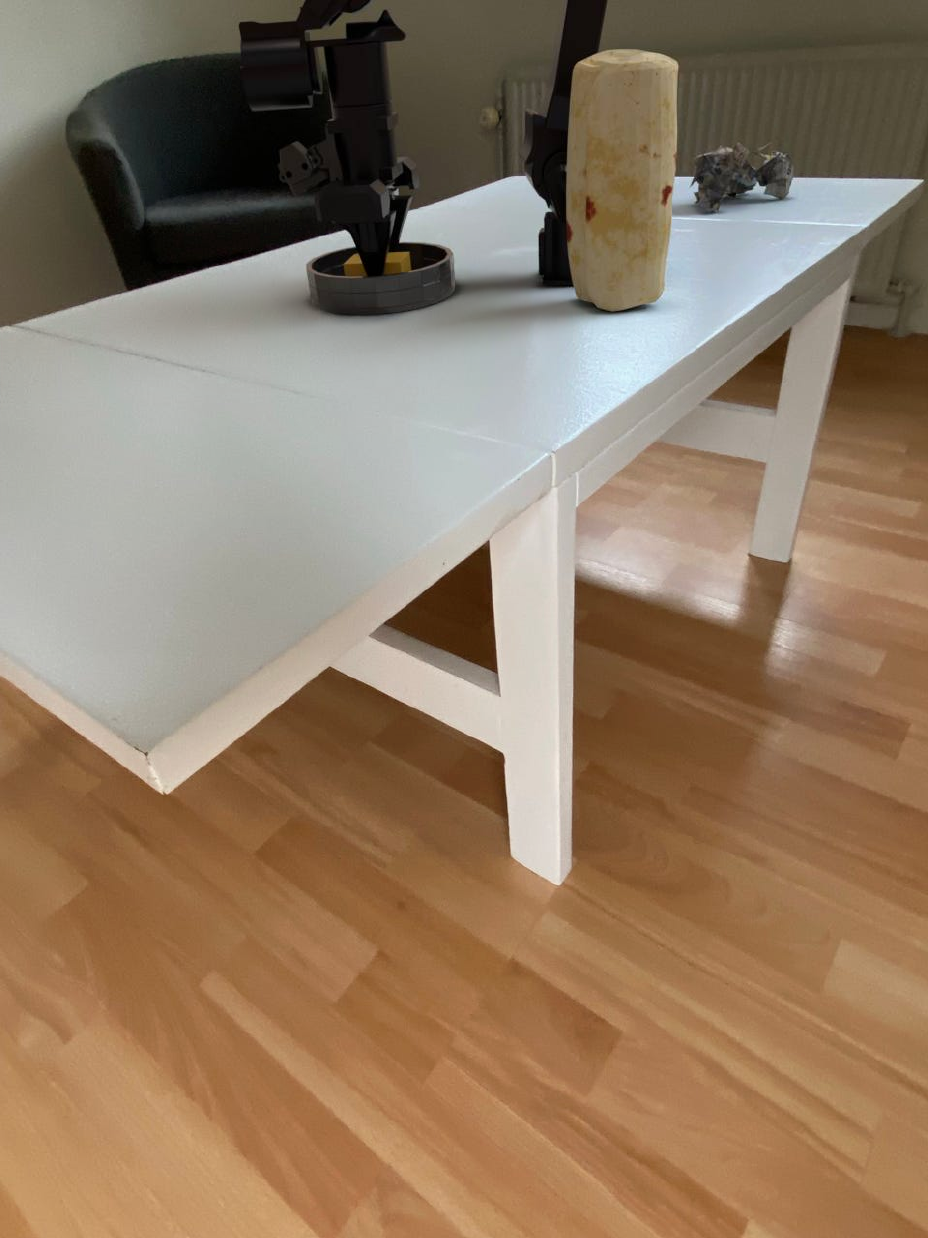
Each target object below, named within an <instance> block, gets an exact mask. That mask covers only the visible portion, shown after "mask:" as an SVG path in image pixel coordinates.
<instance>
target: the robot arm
mask: <svg viewBox="0 0 928 1238" xmlns="http://www.w3.org/2000/svg"><path fill="white" fill-rule="evenodd" d="M374 1H375V0H304V2H303V4H302V6H299V13H298V15H297V17H296V20H288V21H285V20H284V21H273V22H261V21H256V20H249V21H240V22H239V23H238V30H239V36H240V41H239V42H240V43H239V44H240V45H239V47H240V59H241V60H240V61H241V66H240V69H239V70H240V75H241V81H242V86H243V89H244V94H245V98H246V101H247V103H248V106H249V108H250V110H251V111H252V112H264V111H266V112H267V111H278V110H292V109H294V110H295V109H305V108H313V106H314V95H315V94H316V95H322V94H323V78H322V77H323V76H322V69H321V63H320V56H319V50H318V48H323V55H324V62H325V70H326V78H327V85H328V91H329V100H330V108H331V116H332V118H331V119H328V120H326V124H325V125H324V131H325V139H324V140H322V141H320V142H318V143H317V144H314V145H312V146H310V147H308V148H306V147H305V146H304V145H303V144H302V143H300V141H297V140H296V141H294V142H292V143H289V144H287V145H286V146H284V147H282V148H281V149H279V158H280V159H279V163H277V165H276V166H277V168H278V170H279V175H278V179H279V181H280V182H282V183H284V184H286V183H287V184H288V185H287V186H288V187H289V188H290V191H291V193H292V195H293V197H294V198H296V197H298V196H300V195H302V194H304V193H305V192H306V191H307V190H310V189H311V188H314V187H316V186H318V185H319V183H321V182H323V181H325V180H327V179H330V182H328V183H326V184H325V185H323V186H322V187H321V188H320V189H319V191H318V193H317V194H316V195H315V197H314V204H315V213H316V217H317V222H322V223H323V222H324V223H325V222H327V223H328V222H332V223H333V224H335V225H337V226H339V227H341V228H342V229H343V230H345V231H346V232H347V233H348V234H349V235H350V237H351V240H352V242H353V244H354V246H356V249H357V251H358V254H359V256H360V259H361V261H362V264H363V267H364V269H365V272H366V274H367V276H379V275H384V270H385V265H386V260H387V255H388V253H389V252H397V249H398V245H399V242H401V238H402V234H403V230H404V226H405V224H406V220H407V218H408V217H407V216H408V213H409V209H410V206H411V203H412V200H413V194H400V193H399V187H408V190H416V189H417V188H418V187H419V186H420V177H419V166H418V165H417V163H415V162H414V160H412V158H411V157H409V156H398V154H397V153H398V152H397V142H396V131H395V127H397V126H398V125H399V123H400V121H399V113H398V112H396V111H395V112H394V111H393V109H394V108H393V102H392V100H393V99H392V90H391V89H392V88H391V79H390V78H391V77H390V66H389V57H388V56H389V55H388V48H387V43H394V42H403V41H405V39H406V37H407V34H406V31H405V30H404V29H402V28H401V27H400V26H399V25H398V24H397V22H396V21H395V19H393V17H392V16H391V13H390V11H389V10H388V9H383V10H382V12H381V14H380V16H379V18H378V19H376V20H366V21H365V20H363V21H351V22H350V21H349V22H345V37H337V38H324V39H311V33H310V32H311V31H316V30H328V29H329V28H330V27H332V26H333V24H335V23H336V22H337V21H338V20H339V18H341V16H343V15H344V14H350V15H355V14H360V13H361V12H364V11H366V10H367V9H368V8H370V7H371V6H372V4H373V3H374ZM608 1H609V0H561V4H560V11H559V17H558V23H557V29H556V34H555V35H556V36H555V42H554V49H553V54H552V60H551V61H552V62H551V67H550V68H551V69H550V74H549V80H548V85H547V90H546V93H545V95H544V98H543V100H542V103H541V105H540V108H539V111H535V110H532V109H529V108H525V111H524V138H523V141H522V145H521V147H520V149H519V151H518V156H519V158H520V159H521V160H522V161H523V170H524V175H525V177H526V180H527V181H528V183H529V184H530V186H531V187H532V189H533V190H534V191H535V193H537V195H538V196H539V197H540V198H541V199H543V201H544V202H545V204H546V207H547V208H548V209H549V210H550V211H546V212H545V214H544V216H543V227H540V229H539V232H538V235H537V236H538V238H537V239H538V240H537V241H538V242H537V243H538V275H539V276H540V277H542V279H541V283H542V286H543V285H544V286H557V285H560V286H561V285H562V286H563V285H573V280H572V275H571V270H570V263H569V257H568V244H567V220H566V183H567V148H568V128H569V113H570V99H571V87H572V76H573V70H574V67H575V65H576V64H577V63H578V62H580V61H582V60H584V59H586V58H588V57H590V56H592V55H594V54H597V53H599V51H600V44H601V39H602V33H603V28H604V22H605V16H606V12H607V5H608Z"/></svg>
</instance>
